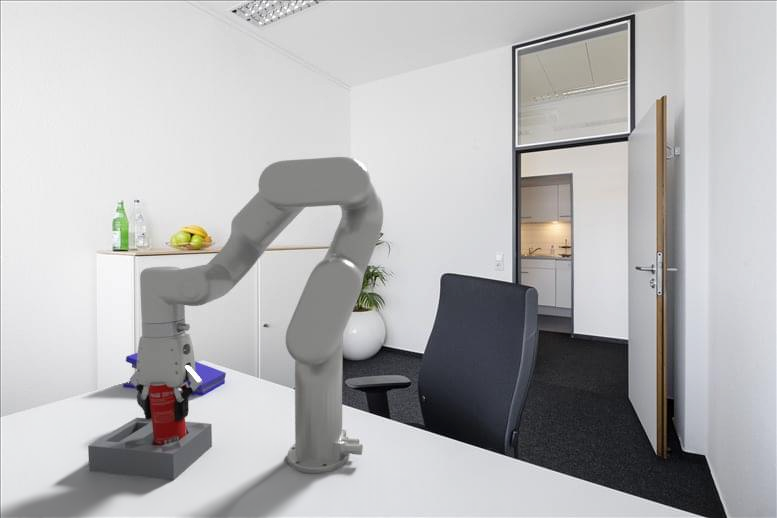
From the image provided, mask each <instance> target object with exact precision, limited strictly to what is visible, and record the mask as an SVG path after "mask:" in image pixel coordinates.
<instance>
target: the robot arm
mask: <svg viewBox="0 0 777 518" xmlns="http://www.w3.org/2000/svg"><path fill="white" fill-rule="evenodd" d="M371 181H372V180H371V176H370V174H369V171H368V169H367V168H366V167H365V165H364V164H363V163H362V162H361V161H359V160H358V159H355V158H352V157H348V156H347V157H346V156H334V157H333V156H332V157H319V158H305V159H302V158H299V159H288V160H287V159H286V160H285V159H284V160H278V161H276V162H272V163H271V164H269V165H268V166H266V167H265V168H264V169H263V171H262V172H261V174H260V176H259V178H258V184H257V185H258V191H257V193H256V194H254V196H253V197H252V198H251V199H250V200H249V201H248V202H247V203H246V204H245V205H244V206H243V208H241V209H240V210H239V212H237V214H236V215H235V216H234V217H233V219H232V221H231V225H230V227H231V228H230V235H229V238H228V239H227V241H226V243H225V244H224V245H223V247H222V248H221V249H220V250H219V251H218V252H217V253H216V255H214V257H212V258H211V260H210V261H209V262H208V263H206V264H201V265H197V266H192V267H185V268H180V267H177V266H151V267H147V268H146V267H145V268H144V269H143V270H141V272H140V275H139V284H140V287H139V289H140V290H139V291H140V312H141V313H140V315H141V336H140V337H139V342H138V347H137V352H136V353H137V369H136V371H135V372H134V373H133V374H132V375H131V377H130V378H129V381H130V382H131V383H132V384H133V385H134V386H135V387H136V388H135V389H136V390H137V392H139V393H140V394H141V398H142V399H143V400H145V414H144V418H145V419H150V418H152V417H151V408H150V399H149V390H148V389H149V387H150V384H166V385H167V386H168V387H171V388H173V390H174V393H175V396H176V399H177V401H176V402H175V403H174V412H175V421H176V422H179V421H180V420H182V419H183V418H185V419H186V417H188V416H189V412H190V411H189V409H190V408H189V398H190V397H191V396H192V393H193V392H194V391H195V390H196V389H197V388H198V387H199V386H200V385H201V384H202V380H201V379H200V378H199V376H198V375H197V374H196V371H195V362H196V360H195V354H194V353H195V352H194V347H193V342H192V340H191V335H190V333H186V331H187V332H188V331H189V330H190V327H191V326H190V324H189V323H186V314H185V313H186V309H185V306H189V307H199V306H203V305H206V304H208V303H210V302H213V301H215V300H218V299H220V298H222V297H224V296H226V295H227V294H228V293H230V291H231V290H232V289H234V287H235V286H236V285H237V284H238V283H239V282H240V281H241V280H242V279H243V278H244V277H245V275H247V273H249V271H250V270H251V269H252V268H253V267H254V265H255V264H256V263H257V262H258V260H260V258H261V257H262V256H263V254H264V253H265V251H266V250H267V248H268V247H269V246H270V245H271V244H272V243H273V242H274V241H275V240H276V238H277V237H279V235H280V234H282V232H283V231H284V230H285V229H286V228H287V227H288V226H289V225H290V224H291V223H292V222H293V221H294V219H296V218H297V216H298V215H300V213H302V211H304V210H305V208H311V207H329V206H330V207H331V206H339V207H340V210H341V216H340V217H341V218H340V220H339V224H338V225H337V228H336V230H335V231H334V235H333V238H332V241H331V243H330V245H329V247H328V250H327V252H326V253H325V256H324V258H323V259H322V260H321V261H319V262H318V263H317V264H316V265H315V267H314V268H313V269H312V271H311V272H310V274H309V276H308V278H307V280H306V283H305V286H304V288H303V290H302V293H301V295H300V297H299V300H298V302H297V304H296V307H295V309H294V312H293V314H292V316H291V319H290V320H289V323H288V326H287V328H286V331H285V346H286V349H287V351H288V354H289V355H290V357H291V358H292V359H293V360H294V426H295V427H294V430H295V431H294V432H295V433H294V434H295V435H294V437H295V439H294V440H295V441H294V444H293V445H291V447H290V448H289V449H288V452H287V462H288V465H289V466H290V467H291V468H293V469H295V470H297V471H299V472H302V473H308V474H320V473H321V474H322V473H326V472H327V473H328V472H330V471H334V470H336V469H339V468H340V467H341V466H343V465H344V464H345V463H346V462H348V460H349V458H350V456H351V454H352V455H358V456H361V455H363V451H364V450H363V448H364V447H363V444H362V443H360V439H359V438H349V437H348V436H347V429H343V348H344V347H343V346H344V345H343V344H344V343H343V342H344V332H345V331H346V328H347V325H348V322H349V320H350V319H351V316H352V314H353V312H354V310H355V307H356V304H357V301H358V299H359V297H360V294H361V291H362V289H363V282H364V276H365V273H366V272H367V268H368V266H369V263H370V262H371V259H372V257H373V254H374V251H375V248H376V245H377V243H378V240H379V239H380V238H379V237H380V235H381V231H382V227H383V223H384V209H383V204H382V199H381V196H380V195H379V192H378V190H377V189H376V187H375V185H374V184H373V183H372V182H371ZM187 381H190V382H191V385H190V386H188V383H187ZM180 387H181V388H182V390H183V393H182V391H181V388H180Z"/></svg>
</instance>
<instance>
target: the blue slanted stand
mask: <svg viewBox="0 0 777 518" xmlns="http://www.w3.org/2000/svg"><path fill="white" fill-rule="evenodd" d="M137 353H138V352H136V353H133V354H130V355H129V354H128V355H127V356H126V357H125V362H126V363H129V364H131V368H132V369H135V370H137ZM195 371H196V374H197V375H198V376H199V378H200V379H201V380H202V384H201V385H200V386H199V387H198V388H197V389H196V390H195V391H194V392H193V393H192V394H191V396H192V395H193V396H203V397H204V396H205V395H206V394H209V393H210V392H212V391H214V390H215V389H217V388H219V387H221V386H222V385H224V384H225V383H226V380H225V379H226V375H227V372H225V371H223V370H219V369H217V368H214V367H212V366H209V365H206V364H203V363H200V362H198V361H195ZM128 382H129V383H128ZM187 383H188V386H190V385H191V382H190V381H187ZM122 385H123V386H122V387H123V388H128V389H136V387H135V386H134V385H133V384H132V383H131V382H130V380H129V381H127V382H124V383H122ZM182 393H183V390H182Z"/></svg>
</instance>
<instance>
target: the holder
mask: <svg viewBox="0 0 777 518" xmlns="http://www.w3.org/2000/svg"><path fill="white" fill-rule="evenodd" d="M185 424H186V434H187V435H185V436H184V437H183V438H182V439H180V440H179V441H176V442H172V443H169V444H165V445H161V446H158V445H155V444H154V435H153V426H152V419H145V417H135V418H133V419H132V420H130V421H128V422H126V423H124V424H123V425H122V426H119V427H118V428H116V429H115V430H112V431H111V432H109V433H107V434H105V435H104V436H102V437H101V438H99V439H97V440H95V441H94V442H92V443H90V444H89V445H88V446H87V448H88V449H87V450H88V470H89V472H95V473H96V472H97V473H105V474H107V473H108V474H114V475H115V474H116V475H123V476H132V477H133V476H135V477H144V478H151V479H152V478H153V479H161V480H171V481H172V480H173V481H174V480H176V479H177V478H178V477H179V476H180V475H181V474H182V473H183V472H184V471H186V470H187V469H189V467H190V466H192V465H193V464H194V463H195V462H197V460H199V458H201V457H202V456H203V455H204V454H205V453H206V452H207V451H208V450H210V449H211V448H212V447H213V441H212V440H213V439H212V438H213V435H212V428H213V427H212V423H206V422H197V421H196V422H193V421H185Z"/></svg>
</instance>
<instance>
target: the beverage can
mask: <svg viewBox="0 0 777 518" xmlns="http://www.w3.org/2000/svg"><path fill="white" fill-rule="evenodd" d="M180 388H181V387H180ZM148 390H149V399H150V408H151V417H152V426H153V435H154V444H155V445H158V446H161V445H165V444H169V443H172V442H176V441H179V440H180V439H182V438H183V437H184V436H185V435H187V434H186V424H185V422H186V417H185V418H183V419H182V420H180V421H179V422H176V421H175V412H174V403H175V402H176V401H177V399H176V396H175V393H174V390H173V388H171V387H168V386H167V385H166V384H150V387H149V389H148ZM181 391H182V388H181Z"/></svg>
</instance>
